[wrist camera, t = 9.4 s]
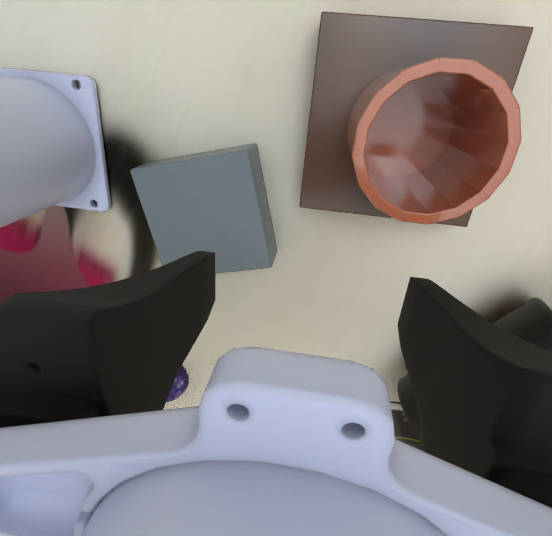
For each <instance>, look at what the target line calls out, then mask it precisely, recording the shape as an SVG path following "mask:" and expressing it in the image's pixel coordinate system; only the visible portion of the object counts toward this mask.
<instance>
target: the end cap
mask: <svg viewBox="0 0 552 536" xmlns="http://www.w3.org/2000/svg"><path fill="white" fill-rule="evenodd" d="M493 324H495V325H497V326H498V327H500V328H502V329H504V330H506V331H508V332H509V333H511V334H513V335H515V336H517V337H519V338H521V339H523V340H525V341H527V342H529V343H532V344H534V345H536V346H538V347H540V348H543V349H545V350H547V351H550V352H552V310H551V309H550V308H549V307H548V306H547V305H546V304H545V303H544V302H543V301H542V300H541V299H539V298H534V299H532V300H530V301H528V302H527V303H525V304H523V305H522V306H520V307H518V308H517V309H515V310H513V311H512V312H510V313H508V314H507V315H505V316H504V317H502V318H500V319H499V320H497V321H495V322H494V323H493ZM397 391H398V397H399V400H400V404H401V406H402V409H403V412H404V414H405V416H406V418H407V420H408V422H409V424H410V425H411V427H412V429H413V431H414V432H415V434H416V435H417V437H418V438H419V440H420V441H421V442H422V444H423V445H424V441H423V434H422V428H421V422H420V416H419V411H418V406H417V402H416V398H415V394H414V391H413V388H412V384H411V381H410V377H409V374H407V375H405V376H404V377H402V378H401V379H400V380H399V382H398V387H397Z"/></svg>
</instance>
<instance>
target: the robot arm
mask: <svg viewBox="0 0 552 536" xmlns="http://www.w3.org/2000/svg"><path fill="white" fill-rule="evenodd" d="M77 80H78V81H79V82H80V85H81V87H80V89H79V88H78V87H77V85H76V81H77ZM94 200H95V201H96V202H97V204H98V206H97V205H95V204H94V202H93V201H94ZM53 205H55V206H62V207H70V208H78V209H86V210H94V211H102V212H104V211H107V210H109V209H110V207H111V199H110V191H109V183H108V175H107V167H106V159H105V151H104V143H103V135H102V127H101V120H100V112H99V104H98V96H97V88H96V83H95V81H94V80H93V79H92V78H91V77H89V76H84V75H74V74H63V73H52V72H42V71H31V70H20V69H10V68H0V228H1V227H3V226H6V225H8V224H10V223H13V222H15V221H18V220H20V219H22V218H25V217H27V216H29V215H32V214H34V213H36V212H39V211H41V210H43V209H46V208H48V207H51V206H53ZM214 301H215V252H207V251H196V252H193V253H191V254H188V255H186V256H184V257H182V258H179V259H177V260H175V261H173V262H170V263H168V264H166V265H164V266H161V267H158V268H156V269H153V270H151V271H148V272H146V273H143V274H140V275H137V276H134V277H131V278H127V279H124V280H120V281H116V282H112V283H107V284H102V285H97V286H92V287H87V288H80V289H72V290H64V291H52V292H31V293H15V294H14V295H12V296H11V297H9V298H8V299H6V300H5V301H3V302H2V303H0V536H552V352H550V351H547V350H545V349H543V348H540V347H538V346H536V345H534V344H532V343H529V342H527V341H525V340H523V339H521V338H519V337H517V336H515V335H513V334H511V333H509V332H508V331H506V330H504V329H502V328H500V327H498V326H497V325H495V324H493V323H492V322H490V321H488V320H487V319H485V318H484V317H482V316H481V315H479V314H477V313H476V312H474V311H473V310H471V309H470V308H469V307H467V306H466V305H464V304H463V303H462V302H460V301H459V300H457V299H456V298H455V297H453V296H452V295H451V294H449V293H448V292H447V291H445V290H444V289H443V288H441V287H440V286H438V285H437V284H435V283H434V282H432V281H431V280H429V279H423V278H415V277H410V281H409V284H408V288H407V292H406V295H405V299H404V303H403V306H402V310H401V314H400V317H399V321H398V331H399V339H400V346H401V350H402V354H403V357H404V361H405V364H406V367H407V371H408V374H409V377H410V381H411V384H412V388H413V391H414V394H415V398H416V402H417V406H418V411H419V416H420V422H421V428H422V434H423V441H424V448H425V452H423V451H421V450H419V449H417V448H414V447H412V446H410V445H408V444H405V443H403V442H401V441H398V440H396V439H395V436H394V423H393V417H392V412H391V406H390V401H389V396H388V390H387V385H386V383H385V382H384V381H383V379H382V378H381V377H380V376H379V375H378V374H377V373H376V372H375V371H374V369H372V368H369V367H366V366H364V365H361V364H358V363H356V362H353V361H348V360H341V359H334V358H328V357H321V356H314V355H307V354H300V353H294V352H287V351H280V350H273V349H266V348H259V347H247V348H234V349H232V350H231V351H229V352H227V353H226V354H224V355H223V356H221V357H220V358H218V360H217V363H216V365H215V368H214V370H213V372H212V375H211V377H210V380H209V382H208V384H207V387H206V389H205V392H204V394H203V397H202V400H201V403H200V406H196V407H187V408H178V409H168V410H163V408H164V406H165V403H166V401H167V398H168V396H169V393H170V391H171V388H172V386H173V384H174V381H175V379H176V377H177V374H178V372H179V370H180V368H181V366H182V364H183V362H184V360H185V358H186V357H187V355H188V353H189V351H190V350H191V348H192V346H193V345H194V343H195V341H196V339H197V338H198V336H199V334H200V332H201V330H202V329H203V327H204V325H205V323H206V321H207V320H208V317H209V315H210V312H211V310H212V307H213V304H214Z"/></svg>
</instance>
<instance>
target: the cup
mask: <svg viewBox="0 0 552 536" xmlns="http://www.w3.org/2000/svg"><path fill="white" fill-rule="evenodd" d="M346 138H347V143H348V147H349V151H350V156H351V160H352V163H353V167H354V171H355V175H356V178H357V182H358V184H359V187H360V188H361V189H362V191H363V192H364V193H365V195H366V196H367V197H368V199H369V200H370V201H371V203H372V204H373V205H374V207H376V208H377V209H379V210H381V211H382V212H384V213H386V214H388V215H390V216H391V217H393V218H395V219H397V220H400V221H404V222H412V223H421V224H432V223H436V222H441V221H445V220H449V219H453V218H458V216H459V217H460V216H462V215H463V214H465V213H466V212H468V211H470V210H471V209H473V208H475V207H476V206H478V205H479V204H481V203H483V202H484V201H486V200H487V199H488V198H489V197H490V196H491V194H492V193H493V192H494V191H495V190H496V188H497V187H498V186H499V185H500V184H501V182H502V181H503V180H504V179H505V178H506V176H507V175H508V174H509V172H510V170H511V167H512V165H513V162H514V159H515V156H516V154H517V151H518V148H519V145H520V143H521V141H520V140H521V123H520V108H519V104H518V102H517V101H516V99H515V97H514V95H513V94H512V92H511V90H510V88H509V86H508V85H507V83H506V81H505V79H503V77H502V76H500V75H498V74H497V73H495V72H494V71H492V70H490V69H489V68H487V67H486V66H484V65H482V64H481V63H479V62H477V61H474V60H469V59H457V58H445V57H440V58H435V59H431V60H427V61H424V62H420V63H416V64H413V65H409V66H405V67H402V68H399V69H396V70H393V71H390V72H388V73H385V74H382V75H380V76H379V77H378V78H376V79H375V80H374V81H372V82H371V83H370V84H369V85H368V86H367V87H366V88H365V89H364V90H363V91H362V92H361V93H360V95H359V96H358V98H357V99H356V101H355V103H354V105H353V107H352V109H351V111H350V114H349V118H348V123H347V133H346Z"/></svg>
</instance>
